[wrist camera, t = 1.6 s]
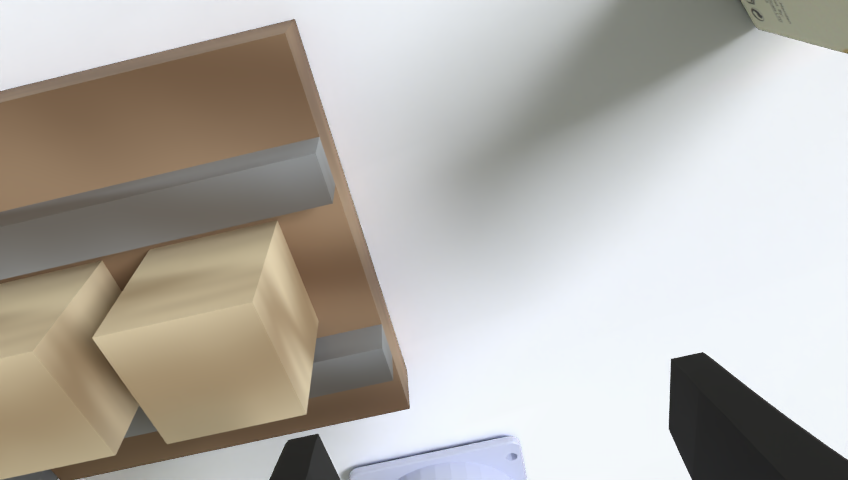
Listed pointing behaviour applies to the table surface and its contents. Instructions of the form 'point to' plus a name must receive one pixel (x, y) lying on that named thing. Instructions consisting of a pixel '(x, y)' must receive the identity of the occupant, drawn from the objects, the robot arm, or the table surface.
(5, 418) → the beige cube
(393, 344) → the slot bed
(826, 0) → the skincare box
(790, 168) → the table surface
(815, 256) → the table surface
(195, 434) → the light wooden cube
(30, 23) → the table surface
